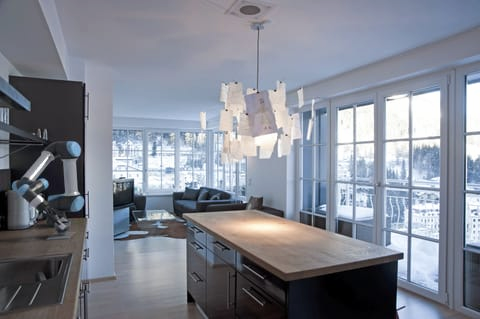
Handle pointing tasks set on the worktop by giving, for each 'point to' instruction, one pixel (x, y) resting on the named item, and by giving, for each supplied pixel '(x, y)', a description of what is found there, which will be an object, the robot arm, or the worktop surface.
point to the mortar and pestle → (59, 230)
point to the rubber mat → (60, 236)
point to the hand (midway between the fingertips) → (66, 226)
